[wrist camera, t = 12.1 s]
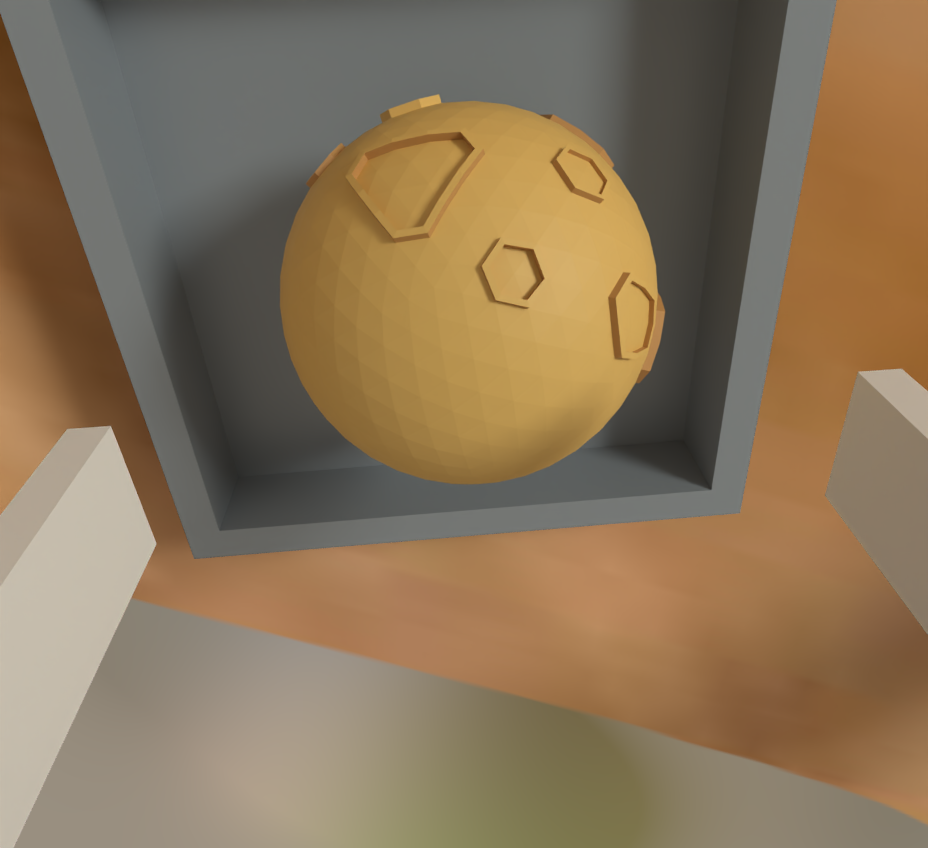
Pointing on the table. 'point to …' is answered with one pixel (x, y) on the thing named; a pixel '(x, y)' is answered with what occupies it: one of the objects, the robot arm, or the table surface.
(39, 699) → the robot arm
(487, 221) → the stress ball
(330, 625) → the table surface
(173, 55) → the tray
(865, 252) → the table surface
